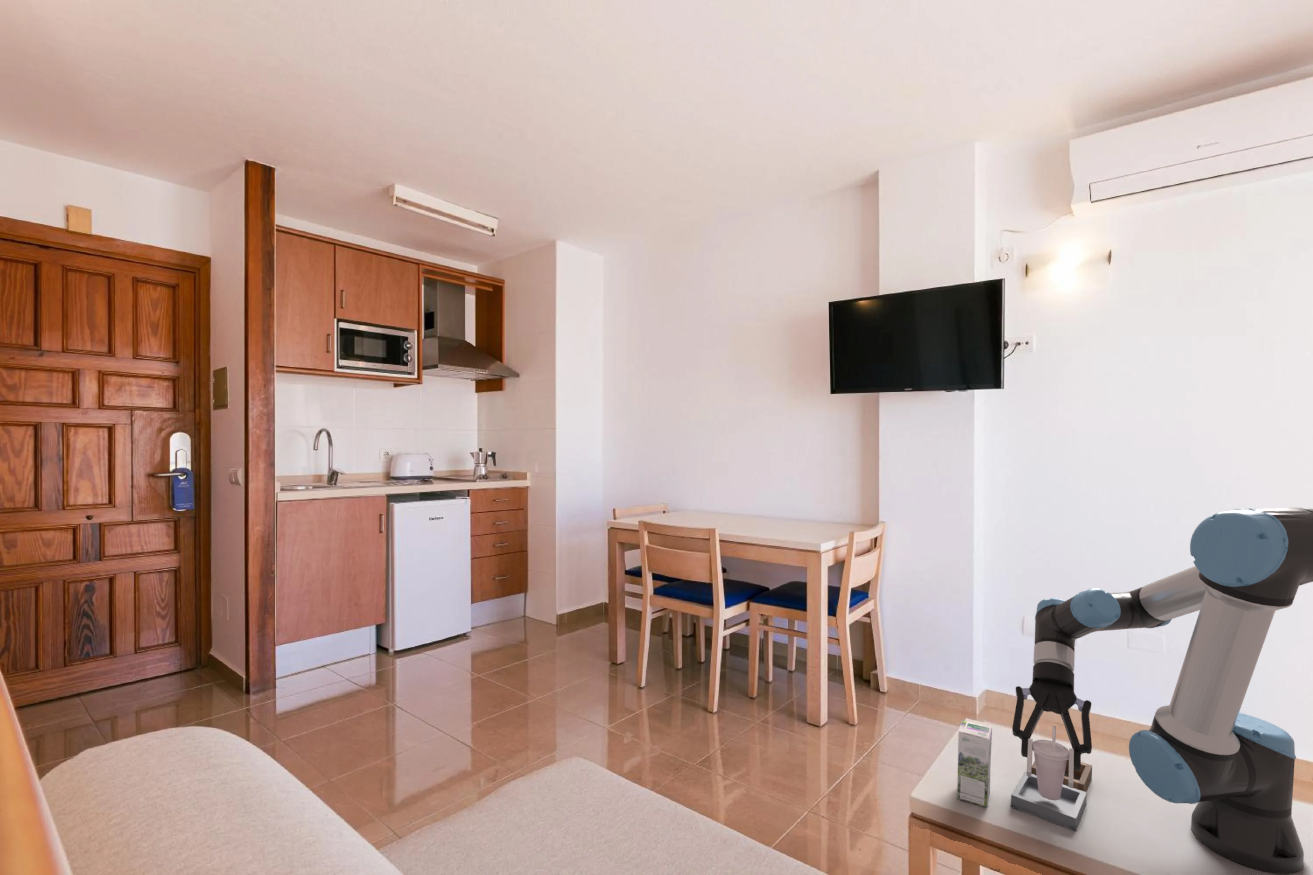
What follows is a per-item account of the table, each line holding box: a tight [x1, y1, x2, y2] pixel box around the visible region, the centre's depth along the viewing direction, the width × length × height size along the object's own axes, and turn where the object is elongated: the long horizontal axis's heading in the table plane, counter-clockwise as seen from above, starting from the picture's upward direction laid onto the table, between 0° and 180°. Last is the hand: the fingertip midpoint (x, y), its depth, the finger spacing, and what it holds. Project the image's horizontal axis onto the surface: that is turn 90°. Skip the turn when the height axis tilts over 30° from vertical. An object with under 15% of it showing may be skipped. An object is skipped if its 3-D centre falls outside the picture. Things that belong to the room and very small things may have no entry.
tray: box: [1010, 771, 1088, 832], centre depth 129 cm, size 11×11×2 cm
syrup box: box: [956, 719, 993, 808], centre depth 132 cm, size 6×6×14 cm
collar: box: [1031, 759, 1093, 792], centre depth 138 cm, size 10×10×3 cm
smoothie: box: [1032, 725, 1069, 800], centre depth 129 cm, size 6×6×14 cm
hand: (1049, 779), depth 126 cm, fingers closed on smoothie, 6 cm apart
